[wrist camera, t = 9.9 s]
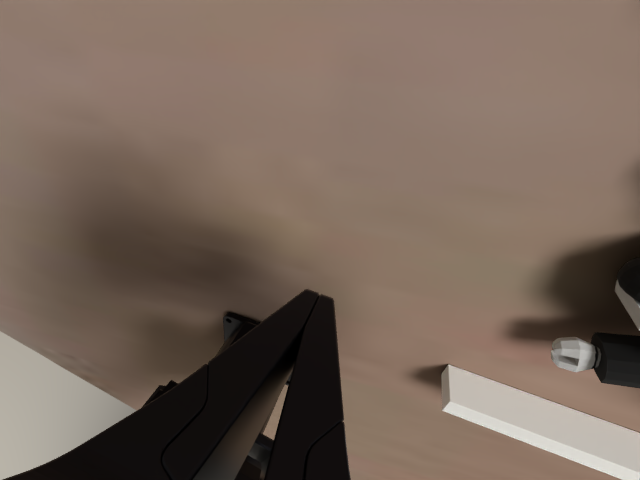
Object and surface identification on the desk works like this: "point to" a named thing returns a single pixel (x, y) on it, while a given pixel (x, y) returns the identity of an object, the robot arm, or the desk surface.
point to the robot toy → (608, 340)
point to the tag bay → (542, 423)
